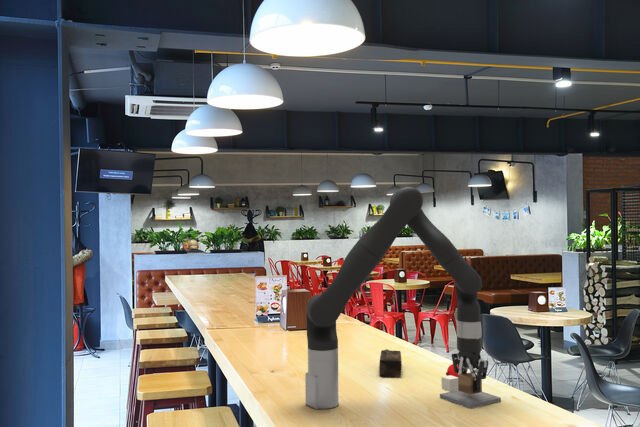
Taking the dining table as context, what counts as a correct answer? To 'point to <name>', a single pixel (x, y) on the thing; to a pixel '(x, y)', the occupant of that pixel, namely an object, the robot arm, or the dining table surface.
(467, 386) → the walnut block
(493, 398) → the plate
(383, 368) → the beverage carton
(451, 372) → the red rounded lumpy piece
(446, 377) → the cream block
